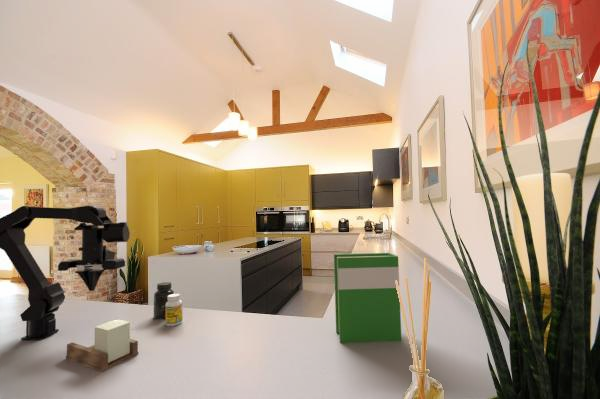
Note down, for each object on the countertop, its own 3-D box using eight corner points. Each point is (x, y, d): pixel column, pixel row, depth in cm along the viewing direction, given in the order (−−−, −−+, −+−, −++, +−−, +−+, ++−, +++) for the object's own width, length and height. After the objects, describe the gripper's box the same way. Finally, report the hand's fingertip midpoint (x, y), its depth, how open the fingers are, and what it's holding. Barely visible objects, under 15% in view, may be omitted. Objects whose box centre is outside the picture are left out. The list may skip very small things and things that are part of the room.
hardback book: (340, 343, 79) (337, 258, 80) (336, 332, 86) (333, 254, 87) (401, 340, 79) (398, 256, 80) (392, 330, 87) (389, 252, 88)
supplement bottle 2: (183, 319, 99) (183, 292, 100) (180, 325, 94) (180, 296, 94) (167, 321, 98) (167, 293, 99) (163, 327, 93) (163, 298, 93)
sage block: (94, 358, 71) (94, 326, 71) (116, 348, 76) (116, 319, 76) (107, 363, 69) (107, 330, 69) (129, 352, 74) (129, 322, 74)
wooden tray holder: (65, 358, 73) (66, 344, 74) (102, 343, 82) (103, 331, 82) (101, 372, 67) (102, 356, 67) (138, 354, 75) (138, 340, 75)
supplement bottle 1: (165, 320, 99) (165, 286, 100) (149, 319, 100) (149, 285, 101) (177, 313, 106) (177, 281, 106) (162, 312, 107) (162, 281, 108)
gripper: (135, 240, 101) (134, 283, 100) (83, 241, 101) (83, 285, 100) (114, 243, 89) (113, 292, 89) (56, 245, 90) (55, 294, 89)
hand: (92, 290), depth 92 cm, fingers closed
